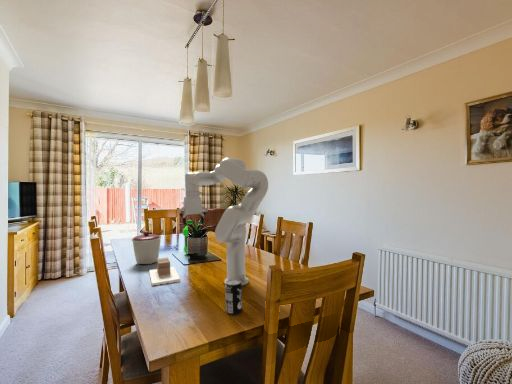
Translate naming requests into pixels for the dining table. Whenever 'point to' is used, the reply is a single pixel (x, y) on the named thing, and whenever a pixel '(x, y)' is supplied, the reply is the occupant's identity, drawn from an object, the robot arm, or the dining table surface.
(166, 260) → the block
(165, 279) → the board
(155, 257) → the canister
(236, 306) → the beverage can
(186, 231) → the plastic bottle
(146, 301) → the dining table surface
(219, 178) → the robot arm
